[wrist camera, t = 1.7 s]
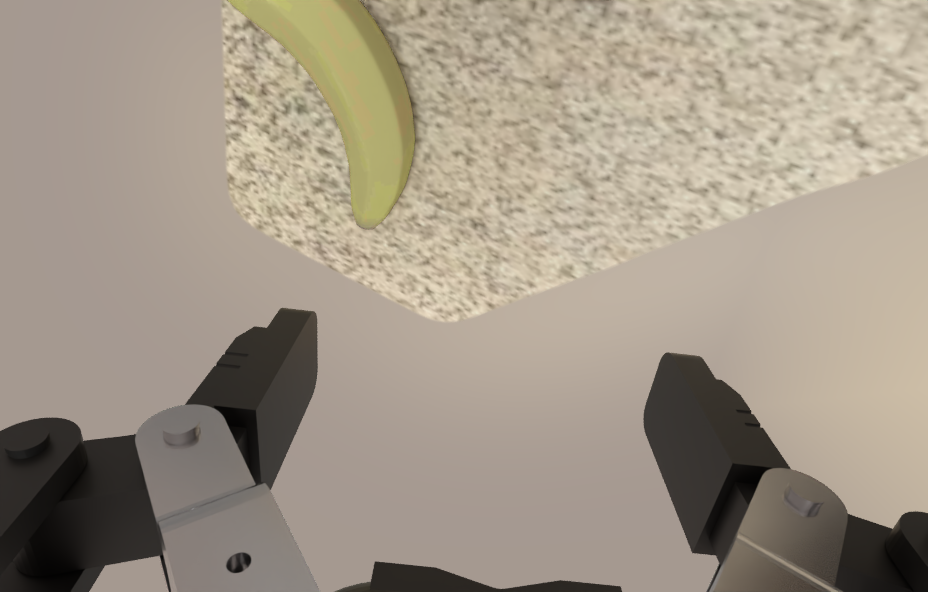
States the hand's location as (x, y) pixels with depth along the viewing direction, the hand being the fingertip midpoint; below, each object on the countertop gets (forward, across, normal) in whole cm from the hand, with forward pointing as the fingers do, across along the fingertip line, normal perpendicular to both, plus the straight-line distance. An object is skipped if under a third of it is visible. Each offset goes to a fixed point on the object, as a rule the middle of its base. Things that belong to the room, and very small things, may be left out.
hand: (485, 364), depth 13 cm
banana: (+27, +4, +2) cm, 28 cm away
